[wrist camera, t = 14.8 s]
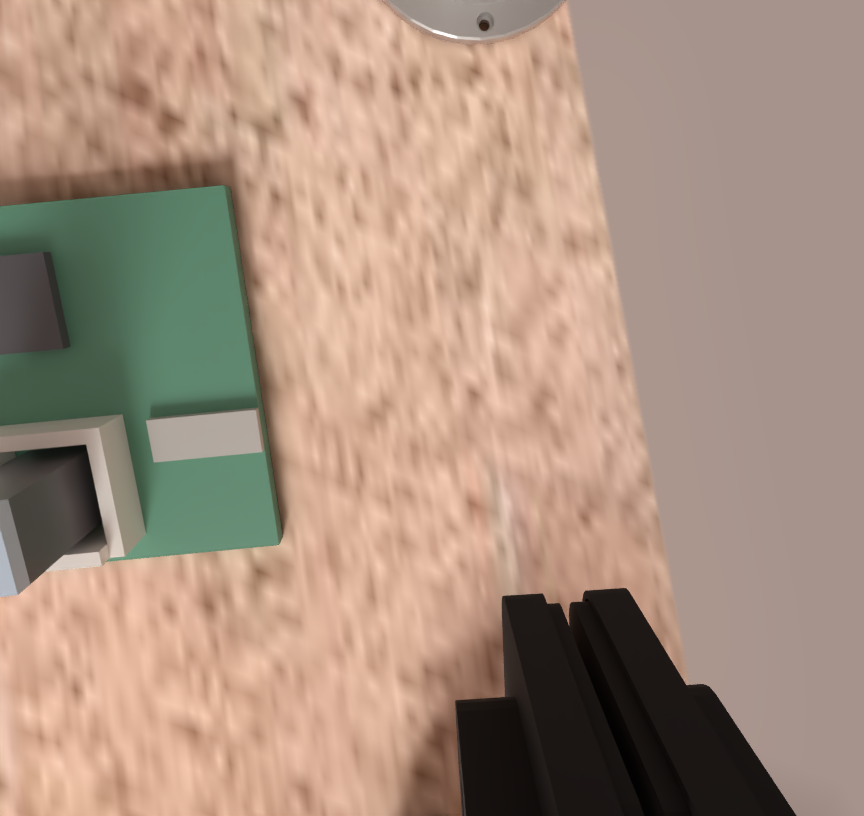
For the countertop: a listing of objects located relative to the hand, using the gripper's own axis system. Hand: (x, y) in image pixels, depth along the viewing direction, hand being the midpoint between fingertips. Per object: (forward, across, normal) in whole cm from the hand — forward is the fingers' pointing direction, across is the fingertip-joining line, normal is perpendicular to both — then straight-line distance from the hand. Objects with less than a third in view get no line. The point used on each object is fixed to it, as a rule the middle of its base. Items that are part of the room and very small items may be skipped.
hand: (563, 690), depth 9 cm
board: (+31, +19, +1) cm, 36 cm away
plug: (+30, +22, +6) cm, 37 cm away
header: (+30, +22, +6) cm, 37 cm away
